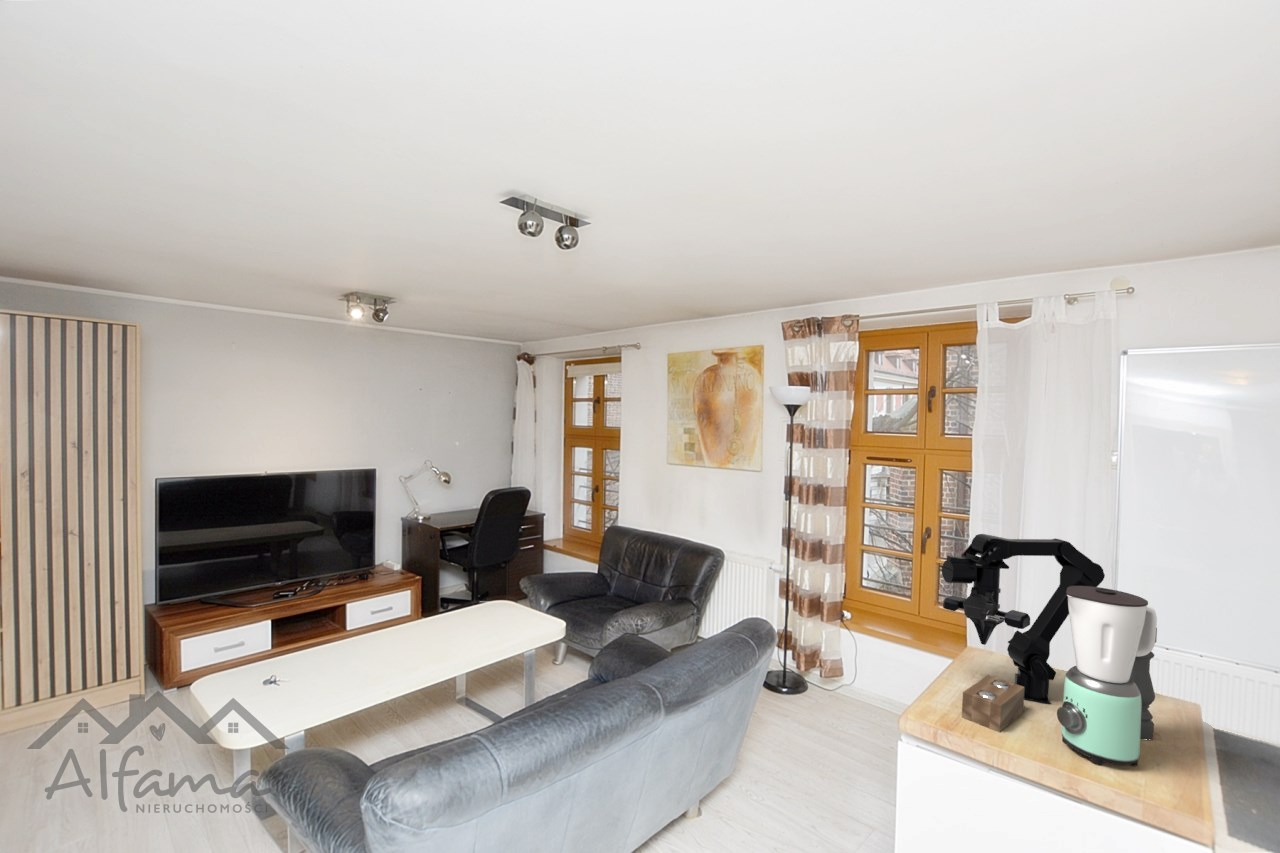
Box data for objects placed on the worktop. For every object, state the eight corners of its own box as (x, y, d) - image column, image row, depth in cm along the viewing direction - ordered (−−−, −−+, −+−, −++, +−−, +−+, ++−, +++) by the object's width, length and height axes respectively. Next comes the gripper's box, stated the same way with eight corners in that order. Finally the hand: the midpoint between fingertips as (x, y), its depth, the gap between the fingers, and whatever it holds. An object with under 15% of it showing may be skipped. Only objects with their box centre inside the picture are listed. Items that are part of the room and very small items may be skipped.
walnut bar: (1023, 711, 139) (1024, 686, 139) (999, 732, 129) (1000, 705, 129) (987, 698, 145) (988, 674, 145) (961, 717, 135) (962, 692, 135)
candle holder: (1144, 729, 133) (1149, 622, 133) (1159, 742, 127) (1164, 631, 127) (1112, 723, 135) (1117, 618, 135) (1125, 736, 129) (1130, 627, 129)
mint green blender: (1088, 771, 115) (1096, 599, 115) (1037, 735, 128) (1044, 580, 128) (1176, 771, 116) (1184, 601, 116) (1117, 735, 130) (1124, 582, 129)
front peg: (992, 716, 135) (993, 693, 135) (995, 722, 132) (996, 699, 132) (977, 712, 136) (978, 690, 136) (979, 719, 133) (980, 695, 133)
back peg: (1006, 705, 141) (1007, 683, 141) (1008, 711, 138) (1009, 688, 138) (991, 702, 142) (992, 680, 142) (993, 707, 139) (994, 685, 139)
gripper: (935, 580, 149) (932, 639, 150) (1016, 599, 135) (1013, 664, 135) (953, 574, 157) (950, 630, 157) (1032, 591, 142) (1029, 653, 142)
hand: (983, 644), depth 148 cm, fingers closed
